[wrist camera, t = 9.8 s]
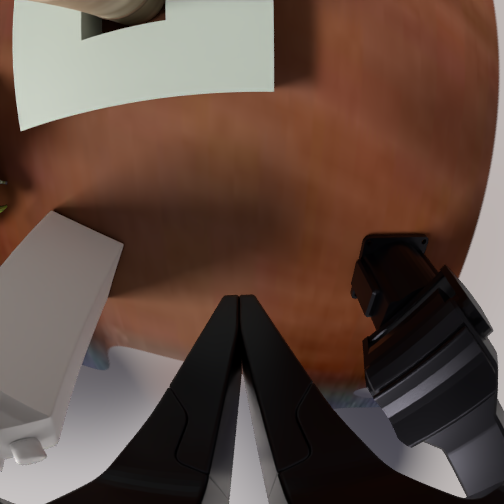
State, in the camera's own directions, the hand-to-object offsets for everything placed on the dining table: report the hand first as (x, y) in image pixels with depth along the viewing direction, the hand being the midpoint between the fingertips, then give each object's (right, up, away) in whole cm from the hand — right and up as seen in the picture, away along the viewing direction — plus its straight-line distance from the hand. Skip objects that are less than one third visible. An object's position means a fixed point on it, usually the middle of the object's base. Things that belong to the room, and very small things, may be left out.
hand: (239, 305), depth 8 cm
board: (-7, +17, +4) cm, 19 cm away
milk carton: (-15, +1, +14) cm, 20 cm away
